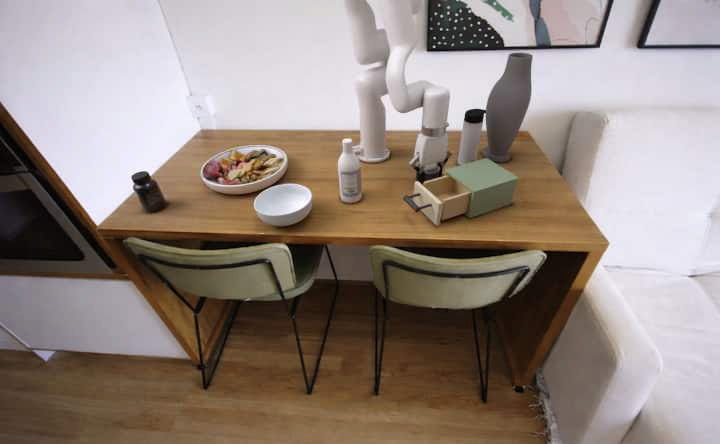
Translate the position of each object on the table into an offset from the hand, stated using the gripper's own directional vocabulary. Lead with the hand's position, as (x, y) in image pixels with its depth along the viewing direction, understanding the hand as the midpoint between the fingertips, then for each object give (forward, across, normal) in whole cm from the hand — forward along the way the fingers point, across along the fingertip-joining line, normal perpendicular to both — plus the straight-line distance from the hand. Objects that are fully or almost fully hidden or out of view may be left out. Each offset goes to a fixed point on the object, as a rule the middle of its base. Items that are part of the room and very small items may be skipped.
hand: (428, 178), depth 117 cm
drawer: (0, +8, +16) cm, 18 cm away
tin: (+1, 0, 0) cm, 1 cm away
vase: (+1, -32, -3) cm, 32 cm away
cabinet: (+1, -7, +16) cm, 18 cm away
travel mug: (+1, -18, -3) cm, 18 cm away
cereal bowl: (+1, +49, -2) cm, 49 cm away
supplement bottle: (+1, +87, -27) cm, 91 cm away
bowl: (+1, +56, -33) cm, 65 cm away
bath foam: (+1, +28, -3) cm, 28 cm away
